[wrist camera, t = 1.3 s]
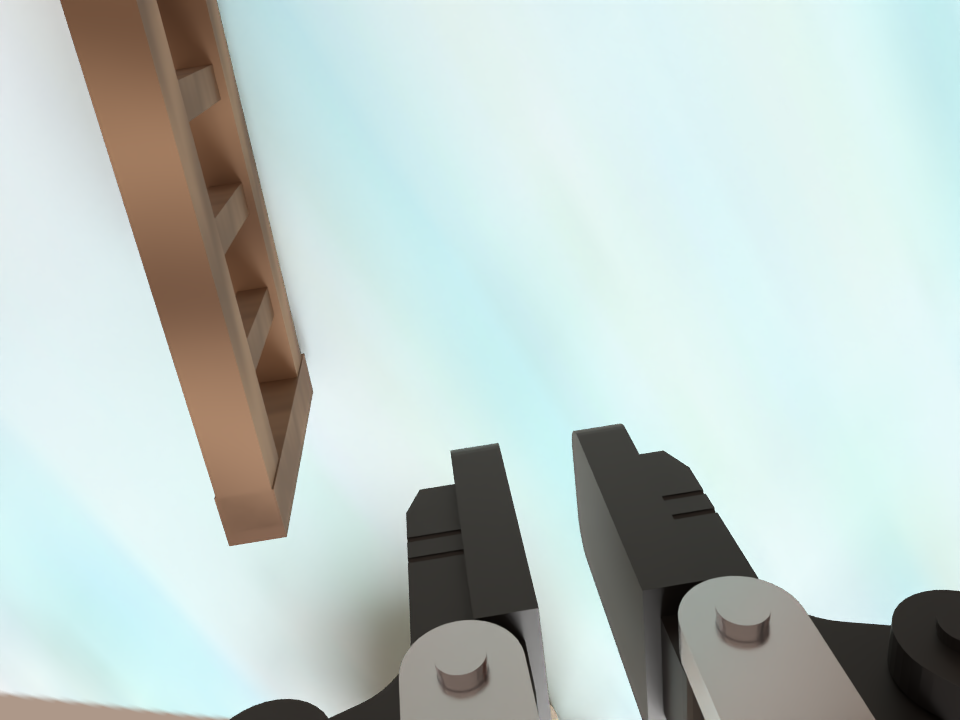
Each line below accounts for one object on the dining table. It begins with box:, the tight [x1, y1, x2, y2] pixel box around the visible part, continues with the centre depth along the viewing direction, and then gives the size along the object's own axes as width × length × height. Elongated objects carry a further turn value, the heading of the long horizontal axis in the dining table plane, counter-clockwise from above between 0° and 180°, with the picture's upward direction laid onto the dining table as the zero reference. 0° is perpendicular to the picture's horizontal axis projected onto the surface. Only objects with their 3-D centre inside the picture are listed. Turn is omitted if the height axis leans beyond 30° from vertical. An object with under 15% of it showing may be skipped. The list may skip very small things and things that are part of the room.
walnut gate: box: [60, 0, 313, 546], centre depth 23 cm, size 16×2×9 cm, turn 7°
